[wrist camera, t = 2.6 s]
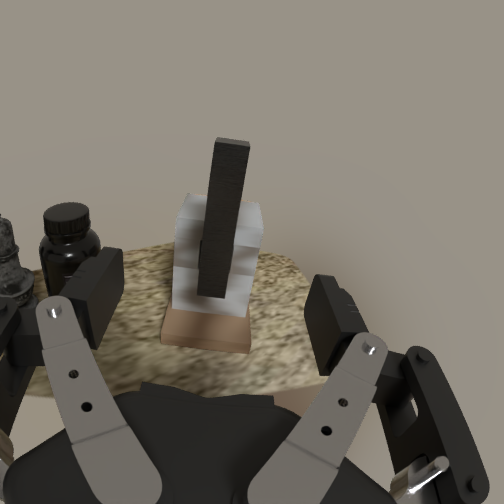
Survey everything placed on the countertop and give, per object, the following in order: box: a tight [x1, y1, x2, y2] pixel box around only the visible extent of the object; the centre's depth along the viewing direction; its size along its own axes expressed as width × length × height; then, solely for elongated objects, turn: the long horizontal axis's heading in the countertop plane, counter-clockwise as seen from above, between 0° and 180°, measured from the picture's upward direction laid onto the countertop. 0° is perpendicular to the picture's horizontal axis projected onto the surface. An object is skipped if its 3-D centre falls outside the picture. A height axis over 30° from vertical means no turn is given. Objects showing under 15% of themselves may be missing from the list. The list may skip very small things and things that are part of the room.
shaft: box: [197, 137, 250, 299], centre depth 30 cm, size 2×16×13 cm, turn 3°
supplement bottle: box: [39, 202, 101, 297], centre depth 28 cm, size 7×7×12 cm
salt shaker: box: [0, 214, 39, 309], centre depth 25 cm, size 6×6×12 cm
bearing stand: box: [161, 194, 264, 354], centre depth 33 cm, size 9×16×12 cm, turn 3°
